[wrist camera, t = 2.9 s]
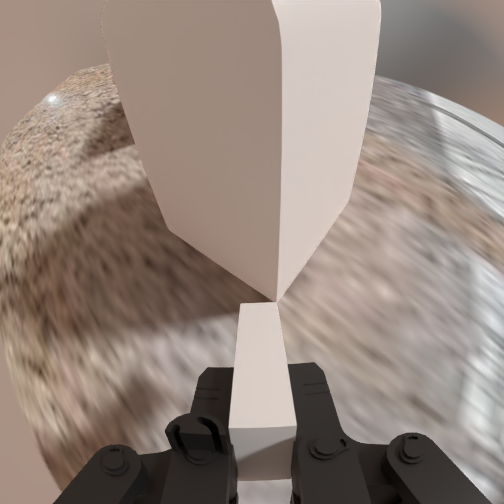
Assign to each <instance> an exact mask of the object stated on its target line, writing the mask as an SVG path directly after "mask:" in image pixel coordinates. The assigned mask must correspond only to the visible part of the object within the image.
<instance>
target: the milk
mask: <svg viewBox="0 0 504 504" xmlns="http://www.w3.org/2000/svg"><path fill="white" fill-rule="evenodd" d="M380 22H381V4H380V1H379V0H106V1H105V4H104V7H103V11H102V19H101V29H102V35H103V40H104V44H105V48H106V51H107V55H108V59H109V63H110V66H111V70H112V73H113V77H114V80H115V83H116V87H117V90H118V93H119V97H120V100H121V103H122V106H123V109H124V112H125V115H126V118H127V121H128V124H129V127H130V130H131V133H132V136H133V139H134V142H135V145H136V148H137V150H138V153H139V156H140V159H141V161H142V164H143V167H144V170H145V172H146V175H147V178H148V180H149V183H150V185H151V188H152V190H153V193H154V196H155V198H156V201H157V203H158V206H159V208H160V211H161V213H162V215H163V218H164V220H165V223H166V225H167V228H168V230H170V231H171V232H172V233H174V234H175V235H177V236H178V237H180V238H181V239H182V240H184V241H185V242H187V243H188V244H189V245H191V246H192V247H194V248H195V249H197V250H198V251H199V252H201V253H202V254H204V255H205V256H207V257H208V258H210V259H211V260H212V261H214V262H215V263H217V264H218V265H220V266H221V267H223V268H224V269H226V270H227V271H229V272H230V273H231V274H233V275H234V276H236V277H237V278H239V279H240V280H242V281H243V282H245V283H246V284H248V285H249V286H251V287H252V288H254V289H255V290H257V291H258V292H260V293H261V294H263V295H264V296H266V297H267V298H269V299H270V300H272V301H273V302H278V301H279V300H280V298H281V297H282V296H283V294H284V293H285V291H286V290H287V289H288V287H289V286H290V285H291V283H292V282H293V281H294V279H295V278H296V276H297V275H298V274H299V272H300V271H301V269H302V268H303V267H304V265H305V264H306V262H307V261H308V260H309V258H310V257H311V255H312V254H313V253H314V251H315V250H316V248H317V247H318V245H319V244H320V243H321V241H322V240H323V238H324V237H325V235H326V234H327V232H328V231H329V229H330V228H331V227H332V225H333V224H334V222H335V221H336V219H337V218H338V216H339V215H340V213H341V212H342V210H343V209H344V207H345V206H346V204H347V203H348V201H349V198H350V194H351V190H352V186H353V182H354V178H355V173H356V169H357V165H358V160H359V156H360V151H361V146H362V142H363V137H364V132H365V127H366V121H367V116H368V111H369V105H370V99H371V93H372V87H373V80H374V74H375V66H376V59H377V51H378V42H379V33H380Z"/></svg>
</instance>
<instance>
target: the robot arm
mask: <svg viewBox="0 0 504 504" xmlns="http://www.w3.org/2000/svg"><path fill="white" fill-rule="evenodd" d="M165 433H166V436H167V438H168V440H169V443H170V445H171V447H172V449H169V450H167V451H164V452H159V453H151V454H142V455H138V454H137V453H136V451H134V450H133V449H131V448H130V447H128V446H124V445H120V444H118V445H109V446H106V447H103V448H101V449H100V450H99V451H98V452H96V453H95V454H94V455H93V457H92V458H91V459H90V460H89V461H88V463H87V464H86V465H85V466H84V467H83V469H82V470H81V471H80V472H79V473H78V475H77V476H76V477H75V478H74V479H73V481H72V482H71V483H70V484H69V485H68V486H67V488H66V489H65V490H64V491H63V492H62V494H61V495H60V496H59V497H58V499H57V500H56V501H55V502H54V503H53V504H238V493H237V479H238V481H257V480H280V479H291V477H292V487H293V489H292V495H291V501H290V504H492V503H491V502H490V501H489V500H488V499H487V498H486V497H485V496H484V495H483V494H482V493H481V492H480V491H479V489H478V488H477V487H476V486H475V485H474V484H473V483H472V482H471V481H470V480H469V479H468V478H467V477H466V476H465V475H464V474H463V472H462V471H461V470H460V469H459V468H458V467H457V466H456V465H455V464H454V463H453V462H452V461H451V460H450V459H449V458H448V457H447V455H446V454H445V453H444V452H443V451H442V450H441V449H440V448H439V447H438V446H437V445H436V444H435V443H434V442H433V441H432V440H431V439H430V438H428V437H427V436H426V435H423V434H419V433H405V434H402V435H399V436H397V437H396V438H395V439H393V440H392V441H391V442H390V444H389V445H380V444H365V443H360V442H357V441H355V440H353V439H351V438H350V437H349V436H347V435H346V434H345V433H344V432H343V430H342V428H341V425H340V422H339V419H338V416H337V412H336V409H335V406H334V403H333V399H332V396H331V393H330V390H329V387H328V384H327V381H326V377H325V374H324V371H323V370H322V369H321V368H320V367H319V366H318V365H317V364H316V363H315V362H312V363H300V364H287V360H286V353H285V347H284V341H283V335H282V329H281V323H280V318H279V312H278V306H277V302H267V303H241V304H240V313H239V323H238V333H237V344H236V354H235V364H234V367H231V368H214V367H207V369H206V370H205V371H204V372H203V373H202V374H201V375H200V376H199V379H198V383H197V387H196V391H195V395H194V400H193V403H192V407H191V411H190V413H187V414H185V415H182V416H179V417H177V418H175V419H174V420H173V421H171V422H170V423H169V424H168V426H167V428H166V429H165Z"/></svg>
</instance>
